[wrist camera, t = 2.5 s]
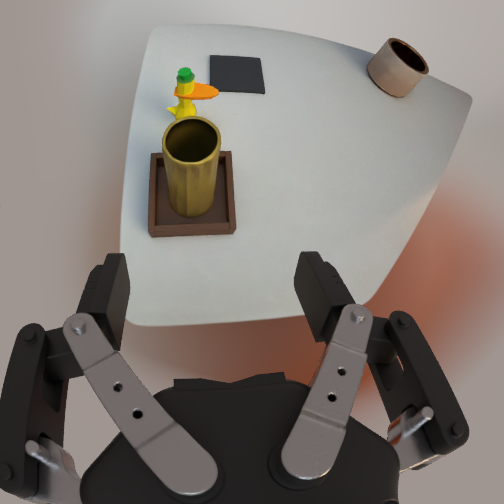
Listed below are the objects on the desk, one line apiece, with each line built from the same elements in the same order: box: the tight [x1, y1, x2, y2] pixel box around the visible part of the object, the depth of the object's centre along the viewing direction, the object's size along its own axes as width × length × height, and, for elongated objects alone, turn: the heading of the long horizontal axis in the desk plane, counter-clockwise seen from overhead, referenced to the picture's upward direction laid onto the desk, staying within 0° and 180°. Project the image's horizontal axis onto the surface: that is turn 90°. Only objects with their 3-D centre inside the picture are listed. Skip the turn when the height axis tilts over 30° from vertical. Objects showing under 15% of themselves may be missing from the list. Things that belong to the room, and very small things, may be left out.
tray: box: [148, 151, 236, 237], centre depth 36 cm, size 11×11×3 cm
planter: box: [368, 38, 429, 97], centre depth 46 cm, size 11×11×10 cm
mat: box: [210, 55, 265, 94], centre depth 42 cm, size 9×9×1 cm
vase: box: [162, 116, 221, 217], centre depth 30 cm, size 6×6×14 cm
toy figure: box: [167, 67, 219, 120], centre depth 34 cm, size 7×4×12 cm, turn 89°
